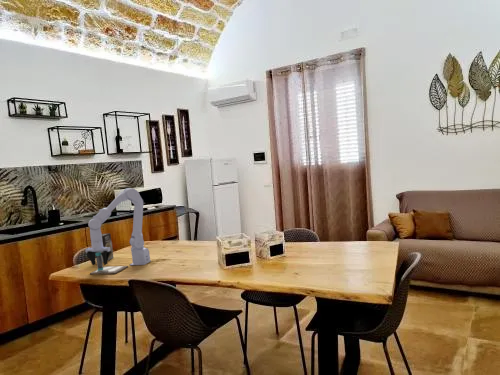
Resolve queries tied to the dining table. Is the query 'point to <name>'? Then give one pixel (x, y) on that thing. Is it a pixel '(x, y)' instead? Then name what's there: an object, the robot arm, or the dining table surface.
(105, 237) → the coffee box
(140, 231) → the robot arm
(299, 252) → the dining table surface
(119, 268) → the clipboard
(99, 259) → the marker
